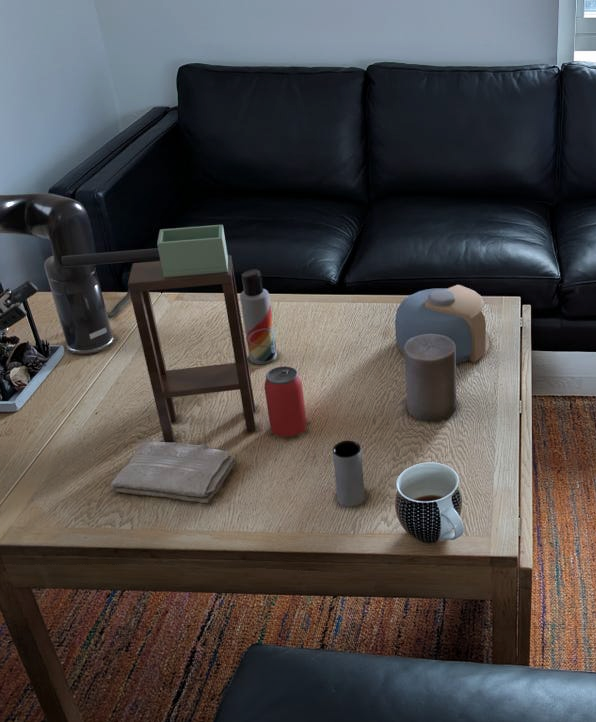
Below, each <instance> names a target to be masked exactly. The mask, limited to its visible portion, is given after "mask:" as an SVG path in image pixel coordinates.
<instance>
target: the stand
mask: <svg viewBox="0 0 596 722" xmlns="http://www.w3.org/2000/svg"><path fill="white" fill-rule="evenodd" d="M215 285H221V286H222V290H223V297H224V303H225V309H226V315H227V321H228V326H229V332H230V333H229V334H230V339H231V346H232V351H233V357H234V362H230V363H221V364H212V365H203V366H194V367H186V368H185V367H183V368H177V369H176V368H175V369H168V370H167V366H166V361H165V358H164V353H163V349H162V344H161V339H160V334H159V330H158V325H157V321H156V315H155V312H154V307H153V303H152V298H151V293H150V291H161V290H171V289H172V290H173V289H182V288H183V289H184V288H194V287H203V286H205V287H206V286H215ZM127 287H128V289H129V291H130V299H131V303H132V308H133V312H134V317H135V322H136V326H137V331H138V334H139V338H140V342H141V347H142V351H143V357H144V359H145V365H146V368H147V373H148V377H149V382H150V385H151V390H152V395H153V399H154V402H155V403H154V404H155V407H156V411H157V417H158V420H159V424H160V428H161V433H162V437H163V438H162V439H163V442H169V443H175V439H176V438H175V432H174V427H173V424H172V423H177V418H178V417H177V411H176V408H175V403H174V399H173V398H180V397H188V396H194V395H195V396H198V395H205V394H213V393H223V392H230V391H231V392H232V391H239V393H240V398H241V405H242V411H243V417H244V423H245V429H246V433H254V432H256V431H257V426H256V420H255V419H256V418H255V413H256V404H255V398H254V391H253V385H252V379H251V378H252V377H251V372H250V365H249V359H248V355H247V346H246V341H245V333H244V328H243V327H244V326H243V322H242V315H241V309H240V301H239V297H238V295H239V294H238V291H237V290H238V289H237V284H236V277H235V269H234V264H233V257H232V255H231V254H228V272H222V273H211V274H200V275H189V276H178V277H167V278H164V275H163V270H162V265H161V260H153V261H142V262H133V263H132V265H131V269H130V274H129V277H128V282H127Z"/></svg>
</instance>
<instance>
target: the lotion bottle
mask: <svg viewBox="0 0 596 722" xmlns="http://www.w3.org/2000/svg"><path fill="white" fill-rule="evenodd" d="M241 280H242V286H243V287H242V288H243V290H242V291H241V292H240V294H239V298H240V301H239V302H240V306H241V313H242V319H243V325H244V326H243V327H244V332H245V333H244V334H245V339H246V345H247V346H246V347H247V352H248V357H249V361H251V363H254V364H257V365H265V364H270V363H271V362H274V361H275V360H276V358H277V356H278V354H277V345H276V338H275V329H274V322H273V314H272V307H271V301H270V300H271V299H270V293H269V291H268V290H267V289H265V288H264V284H263V277H262V272H261V271H260V270H259V269H256V268H252V269H248V270H246V271H244V272H243V273H242V274H241Z"/></svg>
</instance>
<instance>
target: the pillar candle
mask: <svg viewBox="0 0 596 722" xmlns="http://www.w3.org/2000/svg"><path fill="white" fill-rule="evenodd" d="M403 354H404V370H405V373H404V374H405V396H406V398H405V399H406V409H407V411H408V413H409V415H411V416H412V417H413V418H414V419H417V420H419V421H425V422H437V421H441V420H443V419H446V418H449V417H451V416H452V415H454V413H455V412H456V410H457V363H456V346H455V343H454V342H453V341H452V340H451V339H450V338H448V337H446V336H443V335H438V334H424V335H419V336H416V337H413V338H411V339H409V340H408V341H407V342H406V344H405V345H404V353H403Z"/></svg>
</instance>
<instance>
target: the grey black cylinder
mask: <svg viewBox="0 0 596 722" xmlns="http://www.w3.org/2000/svg"><path fill="white" fill-rule="evenodd" d="M362 452H363V451H362V446H361V444H360V443H358V442H357V441H354V440H350V439H349V440H343V441H339V442H337V443H336V444H335V445H334V446H333V447H332V460H333V470H334V471H333V472H334V480H335V490H336V498H337V499H336V500H337V502H338V504H339V505H341V506H343V507H348V508H351V507H352V508H353V507H357V506H359V505H360V504H362V503H363V502H364V501H365V497H366V493H365V480H364V467H363V453H362Z"/></svg>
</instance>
